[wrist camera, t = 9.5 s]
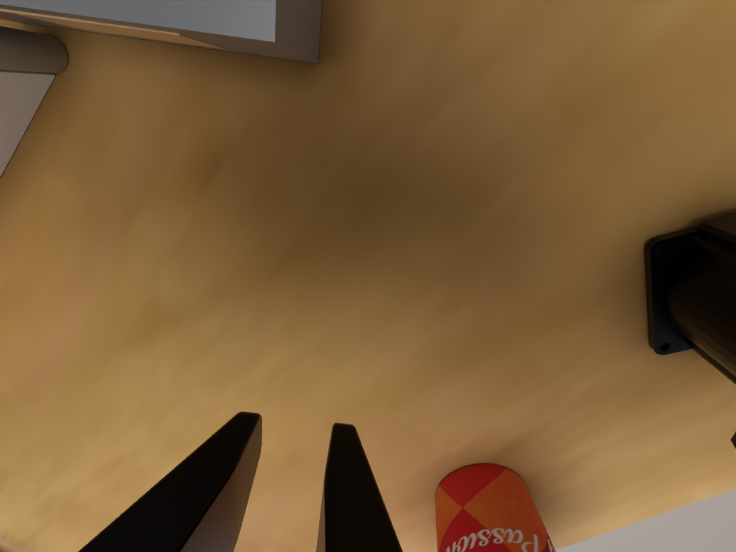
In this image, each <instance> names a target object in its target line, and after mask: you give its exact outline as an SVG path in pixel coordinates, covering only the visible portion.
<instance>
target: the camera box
mask: <svg viewBox="0 0 736 552" xmlns="http://www.w3.org/2000/svg"><path fill="white" fill-rule="evenodd" d="M321 8H322V0H0V19H5V20H10V21H15V22H20V23H27V24H34V25H41V26H49V27H56V28H63V29H70V30H78V31H85V32H92V33H100V34H107V35H114V36H121V37H129V38H136V39H143V40H151V41H158V42H165V43H172V44H180V45H187V46H194V47H202V48H209V49H216V50H223V51H231V52H238V53H245V54H253V55H260V56H267V57H274V58H282V59H289V60H296V61H303V62H311V63H318V55H319V39H320V24H321Z"/></svg>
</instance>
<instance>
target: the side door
mask: <svg viewBox="0 0 736 552" xmlns="http://www.w3.org/2000/svg"><path fill="white" fill-rule="evenodd" d="M67 64H68V56H67V52H66V50H65V48H64V46H63V45H62V44H61V42H60V41H59V40H57V39H56V38H55V37H53V36H50V35H46V34H40V33H35V32H30V31H24V30H19V29H13V28H8V27H2V26H0V177H1V175H2V173H3V172H4V170H5V168H6V166H7V164H8V162H9V160H10V159H11V157H12V155H13V153H14V151H15V149H16V148H17V146H18V144H19V142H20V140H21V138H22V136H23V135H24V133H25V131H26V129H27V127H28V125H29V123H30V122H31V120H32V118H33V116H34V114H35V112H36V111H37V109H38V107H39V105H40V103H41V101H42V99H43V98H44V96H45V94H46V92H47V90H48V88H49V86H50V85H51V83H52V81H53V79H54V77H55V75H54V74H53V73H61V72H63V71H64V70H65V69H66V67H67Z"/></svg>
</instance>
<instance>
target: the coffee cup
mask: <svg viewBox="0 0 736 552" xmlns="http://www.w3.org/2000/svg"><path fill="white" fill-rule="evenodd" d="M435 509H436V531H437V549H438V552H556V551H555V549H554V547H553V544H552V542H551V540H550V538H549V535H548V533H547V531H546V529H545V526H544V524H543V522H542V520H541V517H540V515H539V513H538V511H537V508H536V506H535V504H534V502H533V500H532V498H531V495H530V493H529V491H528V489H527V487H526V485H525V484H524V482H523V480H522V479H521V478H520V477H519V476H518V475H517V474H516V473H515V472H513V471H512V470H510V469H508V468H505V467H502V466H499V465H494V464H474V465H469V466H465V467H462V468H459V469H457V470H455V471H453V472H451V473H450V474H448V475H447V476H446V477H445V478H444V479H443V480H442V481H441V482H440V484H439V486H438V488H437V491H436V498H435Z"/></svg>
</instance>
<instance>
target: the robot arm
mask: <svg viewBox="0 0 736 552" xmlns="http://www.w3.org/2000/svg"><path fill="white" fill-rule="evenodd" d="M661 245H662V249H661V250H660V251H658V252H656V250H657V248H658V247H659V246H661ZM645 257H646V277H647V298H648V319H649V339H650V347H651V348H652V349H653V350H654V351H655V352H656V353H657V354H659V355H666V354H671V353H675V352H680V351H684V350H689V349H693V350H694V351H696V352H697V353H698V354H699V355H700V356H702V357H703V358H704V359H705V360H707V361H708V362H709V363H710V364H711V365H713V366H714V367H715V368H716V369H718V370H719V371H720V372H721V373H722V374H724V375H725V376H726V377H727V378H728V379H730V380H731V381H732V382H733V383H735V384H736V213H735V214H731V215H727V216H723V217H720V218H716V219H712V220H708V221H705V222H703V223H701V224H700V225H698V227H694V228H690V229H686V230H683V231H679V232H675V233H671V234H667V235H664V236H660V237H656V238H654V239H652V240H651V241H649V242H648V244H647V245H646V248H645ZM663 343H665V344H664V345H663V346H661V345H662V344H663ZM731 441H732V443H733V445H734V446H735V448H736V432H735V434H734V435H733V437H732V438H731ZM261 446H262V417H261V415H260V414H258V413H251V412H239V413H237V414H236V415H235V416H234V417H233V418H232V419H230V420H229V421H228V422H227V423H226V424H225V425H224V426H222V427H221V428H220V429H219V430H218V431H217V432H215V433H214V434H213V435H212V436H211V437H210V438H209V439H207V440H206V441H205V442H204V443H203V444H202V445H200V446H199V447H198V448H197V449H196V450H195V451H194V452H192V453H191V454H190V455H189V456H188V457H187V458H186V459H184V460H183V461H182V462H181V463H180V464H179V465H177V466H176V467H175V468H174V469H173V470H172V471H171V472H169V473H168V474H167V475H166V476H165V477H164V478H162V479H161V480H160V481H159V482H158V483H157V484H156V485H154V486H153V487H152V488H151V489H150V490H149V491H147V492H146V493H145V494H144V495H143V496H142V497H141V498H139V499H138V500H137V501H136V502H135V503H134V504H133V505H131V506H130V507H129V508H128V509H127V510H126V511H124V512H123V513H122V514H121V515H120V516H119V517H118V518H116V519H115V520H114V521H113V522H112V523H111V524H109V525H108V526H107V527H106V528H105V529H104V530H103V531H101V532H100V533H99V534H98V535H97V536H96V537H95V538H93V539H92V540H91V541H90V542H89V543H88V544H86V545H85V546H84V547H83V548H82V549H81V550H80V551H78V552H233V551H234V548H235V545H236V542H237V539H238V536H239V532H240V529H241V526H242V522H243V518H244V514H245V511H246V507H247V503H248V499H249V495H250V492H251V488H252V484H253V480H254V477H255V473H256V469H257V465H258V461H259V458H260V453H261ZM316 552H403V551H402V549H401V546H400V543H399V541H398V538H397V536H396V533H395V530H394V528H393V525H392V522H391V520H390V517H389V515H388V512H387V509H386V507H385V504H384V501H383V499H382V496H381V494H380V491H379V488H378V486H377V483H376V480H375V478H374V475H373V473H372V470H371V467H370V465H369V462H368V459H367V457H366V454H365V452H364V449H363V446H362V444H361V441H360V438H359V436H358V433H357V431H356V428H355V427H354V426H353V425H351V424H343V423H334V424H333V427H332V432H331V438H330V445H329V451H328V457H327V463H326V469H325V477H324V486H323V495H322V504H321V513H320V522H319V531H318V540H317V549H316Z"/></svg>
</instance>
